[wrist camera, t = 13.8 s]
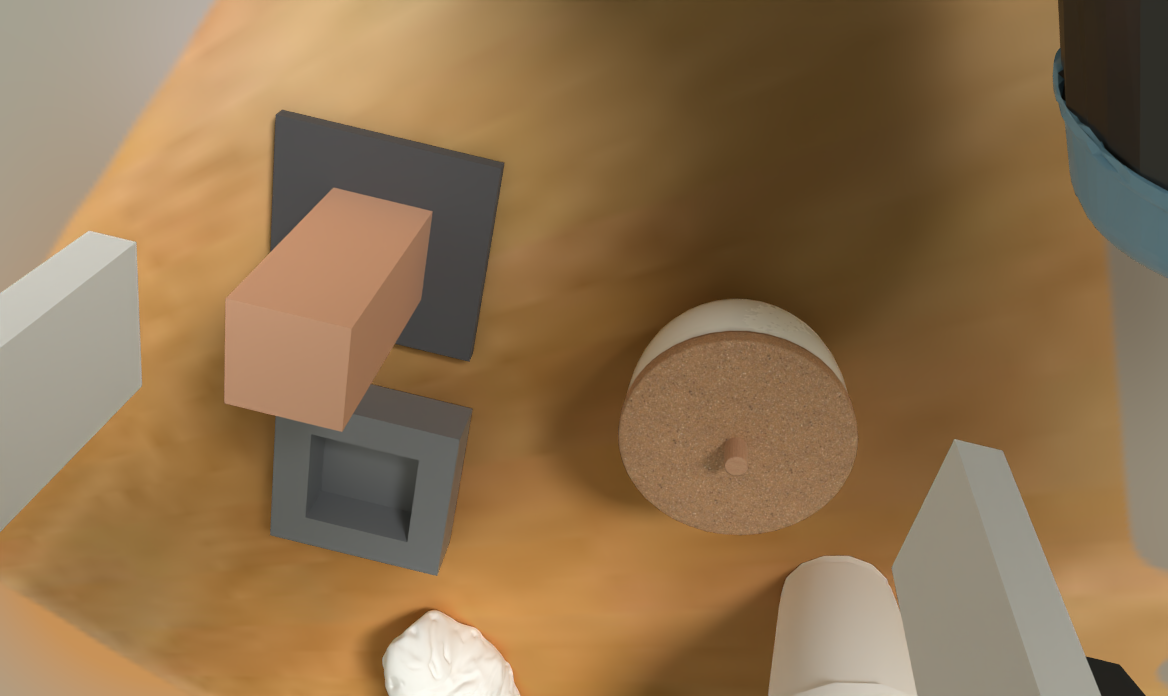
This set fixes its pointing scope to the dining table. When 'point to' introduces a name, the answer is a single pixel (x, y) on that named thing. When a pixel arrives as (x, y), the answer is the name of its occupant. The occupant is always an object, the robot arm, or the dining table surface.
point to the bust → (445, 661)
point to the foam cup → (839, 633)
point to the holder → (373, 480)
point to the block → (325, 309)
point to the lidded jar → (737, 419)
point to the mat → (407, 176)
